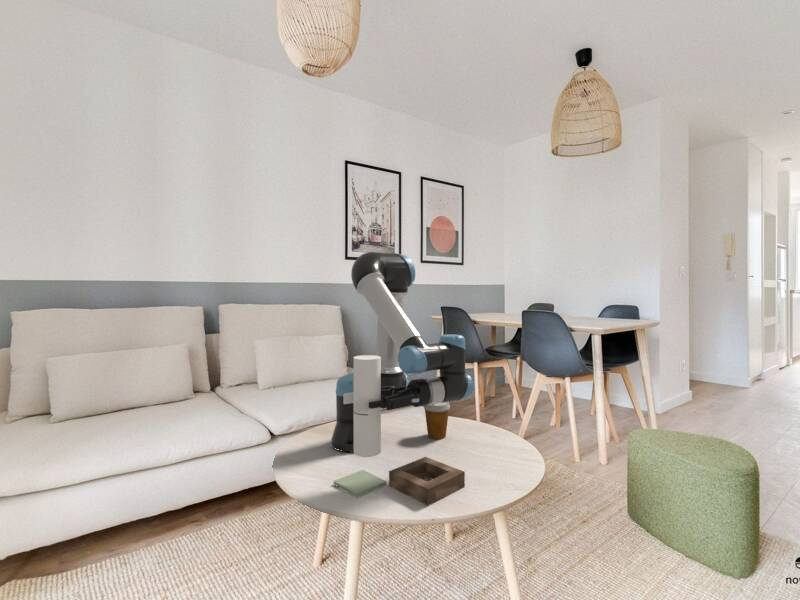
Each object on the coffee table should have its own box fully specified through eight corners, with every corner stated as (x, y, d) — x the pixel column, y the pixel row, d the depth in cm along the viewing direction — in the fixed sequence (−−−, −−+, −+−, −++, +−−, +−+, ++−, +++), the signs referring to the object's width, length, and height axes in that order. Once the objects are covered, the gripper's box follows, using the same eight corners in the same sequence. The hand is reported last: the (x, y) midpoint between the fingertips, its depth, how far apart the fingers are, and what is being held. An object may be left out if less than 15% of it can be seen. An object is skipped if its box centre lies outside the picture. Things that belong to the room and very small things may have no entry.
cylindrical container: (383, 455, 109) (384, 358, 108) (356, 458, 106) (356, 360, 106) (376, 445, 115) (377, 354, 115) (351, 448, 113) (351, 355, 113)
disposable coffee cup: (454, 434, 151) (454, 401, 151) (443, 442, 143) (443, 407, 142) (430, 430, 156) (430, 397, 155) (418, 437, 147) (418, 403, 147)
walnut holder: (389, 486, 111) (389, 471, 111) (425, 470, 120) (425, 456, 120) (428, 505, 101) (428, 489, 100) (464, 486, 110) (464, 471, 110)
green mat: (333, 484, 112) (333, 480, 112) (363, 473, 119) (363, 469, 119) (356, 497, 105) (356, 493, 105) (386, 484, 111) (386, 481, 111)
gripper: (445, 414, 111) (366, 428, 99) (406, 396, 128) (335, 407, 117) (445, 385, 111) (366, 396, 99) (406, 372, 128) (335, 380, 117)
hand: (349, 402), depth 108 cm, fingers closed on cylindrical container, 7 cm apart
